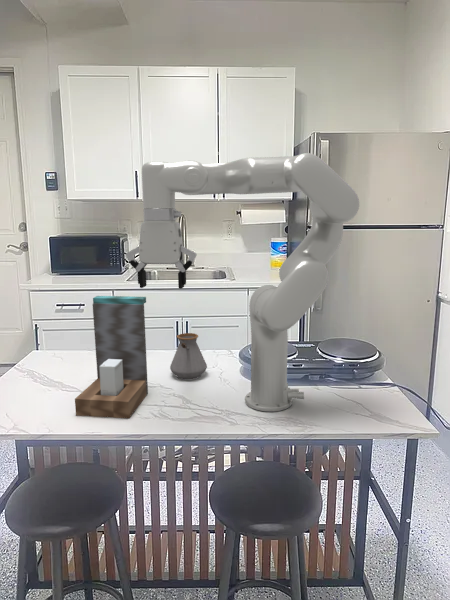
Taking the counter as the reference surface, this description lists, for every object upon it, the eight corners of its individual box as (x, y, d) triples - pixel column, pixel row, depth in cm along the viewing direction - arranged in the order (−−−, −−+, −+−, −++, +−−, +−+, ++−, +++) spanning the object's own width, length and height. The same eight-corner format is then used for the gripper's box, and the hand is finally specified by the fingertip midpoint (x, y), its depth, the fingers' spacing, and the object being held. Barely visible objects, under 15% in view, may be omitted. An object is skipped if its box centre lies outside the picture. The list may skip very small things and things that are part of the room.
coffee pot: (172, 368, 147) (171, 324, 144) (208, 368, 147) (207, 324, 144) (163, 395, 126) (161, 344, 123) (204, 395, 126) (203, 344, 123)
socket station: (150, 390, 129) (145, 296, 124) (129, 418, 112) (123, 311, 107) (103, 388, 131) (97, 295, 126) (76, 415, 114) (67, 309, 109)
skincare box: (117, 410, 117) (114, 366, 114) (101, 409, 117) (98, 366, 115) (125, 400, 123) (122, 359, 120) (110, 400, 123) (107, 358, 121)
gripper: (198, 215, 110) (199, 285, 113) (130, 216, 112) (133, 284, 115) (192, 216, 102) (193, 290, 106) (119, 216, 105) (122, 289, 108)
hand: (162, 287), depth 111 cm, fingers open, 9 cm apart
